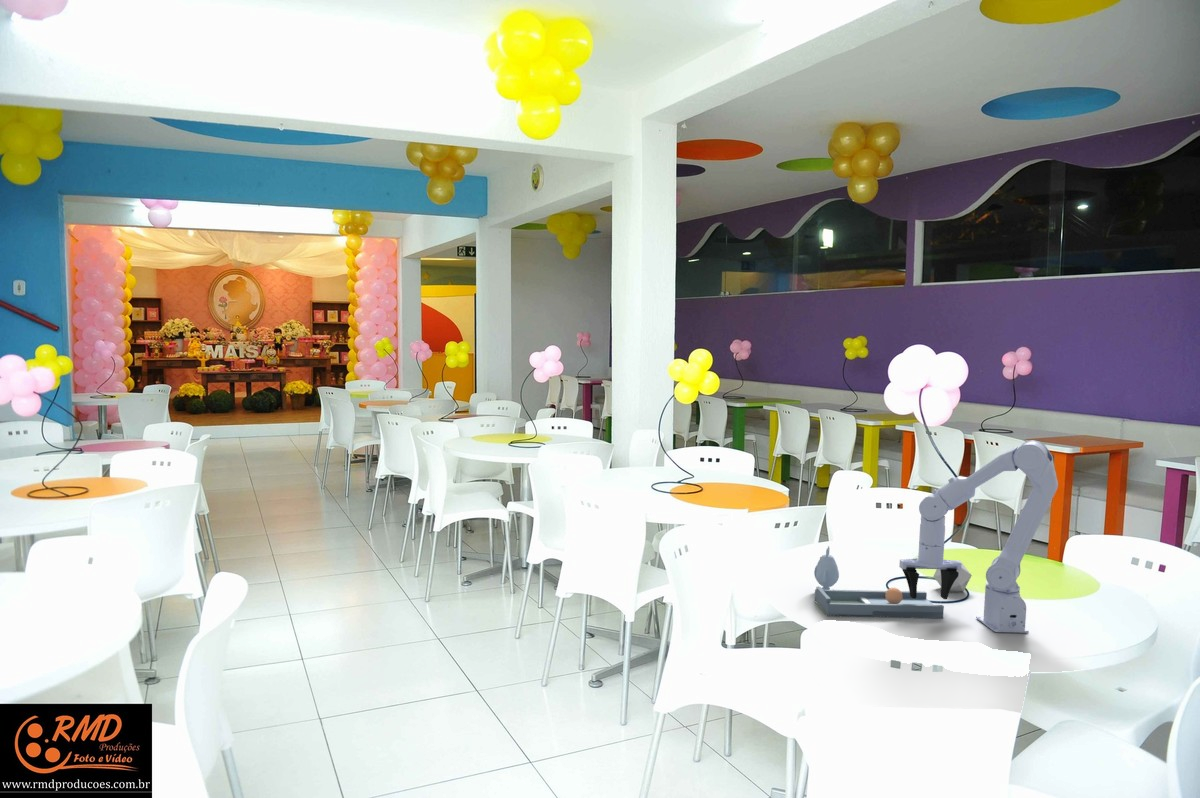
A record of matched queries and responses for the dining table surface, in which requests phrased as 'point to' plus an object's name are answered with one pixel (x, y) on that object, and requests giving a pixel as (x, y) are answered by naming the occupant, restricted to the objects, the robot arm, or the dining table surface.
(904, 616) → the lane
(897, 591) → the ball
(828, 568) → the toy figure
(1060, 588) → the dining table surface
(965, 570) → the die
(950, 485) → the robot arm
